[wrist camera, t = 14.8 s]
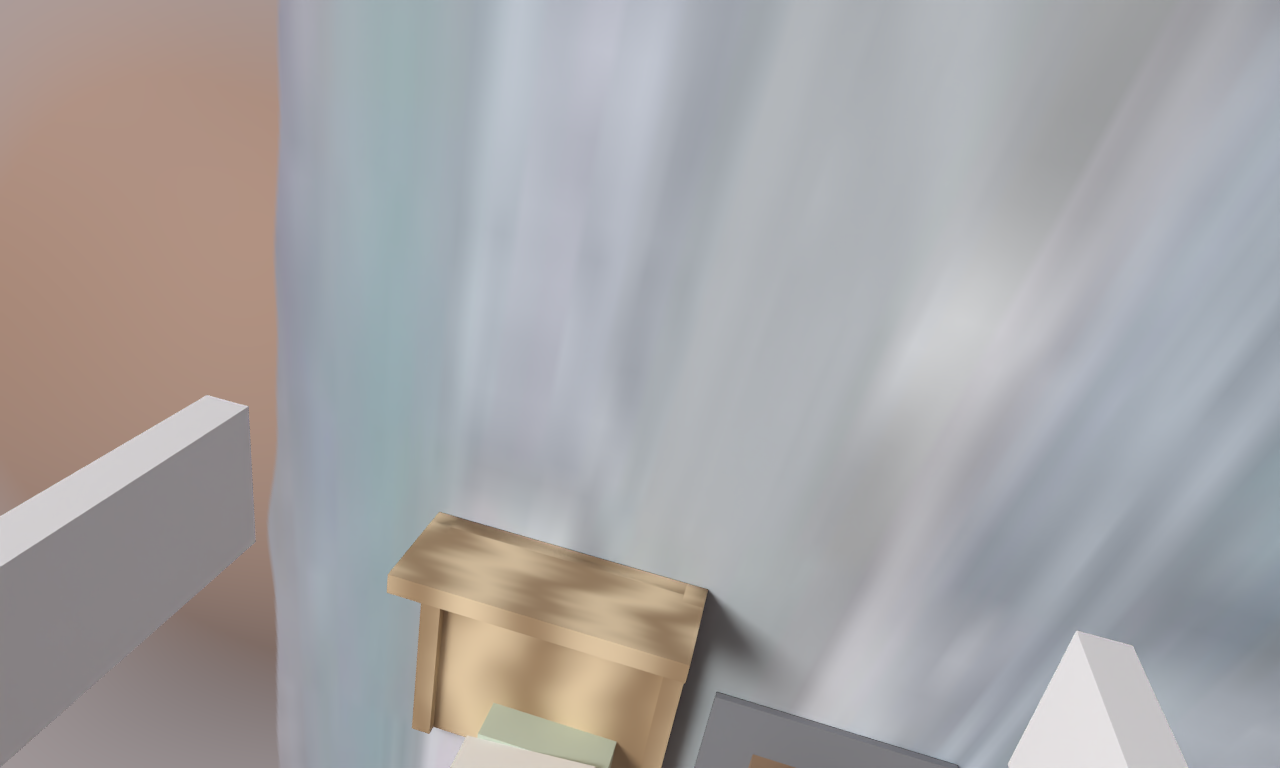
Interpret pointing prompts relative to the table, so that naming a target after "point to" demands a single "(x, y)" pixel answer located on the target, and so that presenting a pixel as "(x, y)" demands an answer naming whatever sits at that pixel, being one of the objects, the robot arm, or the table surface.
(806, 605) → the table surface
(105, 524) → the robot arm
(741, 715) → the rubber mat
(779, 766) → the walnut board
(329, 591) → the table surface
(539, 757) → the offcut upper
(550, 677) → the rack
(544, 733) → the offcut lower
